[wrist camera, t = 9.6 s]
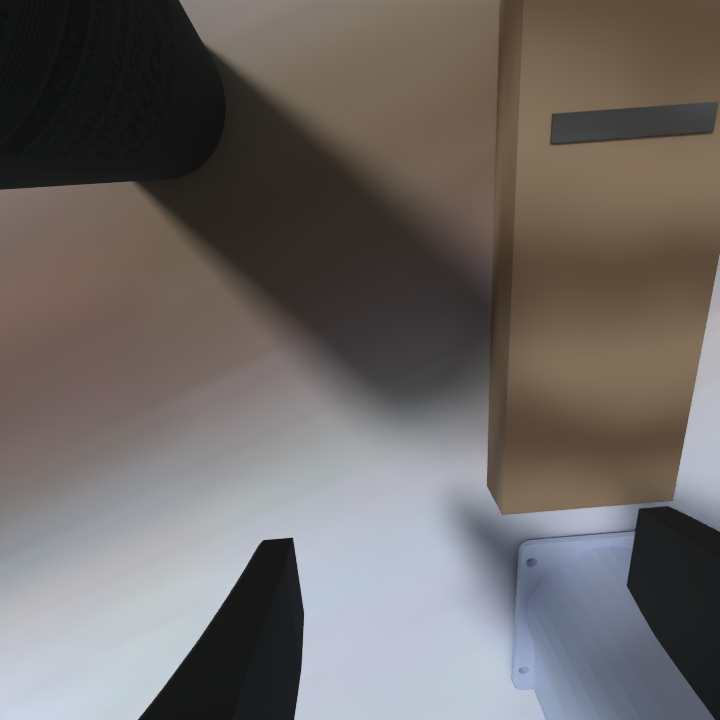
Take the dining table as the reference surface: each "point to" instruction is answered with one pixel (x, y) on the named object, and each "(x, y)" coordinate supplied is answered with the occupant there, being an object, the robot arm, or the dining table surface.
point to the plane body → (600, 246)
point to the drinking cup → (103, 93)
